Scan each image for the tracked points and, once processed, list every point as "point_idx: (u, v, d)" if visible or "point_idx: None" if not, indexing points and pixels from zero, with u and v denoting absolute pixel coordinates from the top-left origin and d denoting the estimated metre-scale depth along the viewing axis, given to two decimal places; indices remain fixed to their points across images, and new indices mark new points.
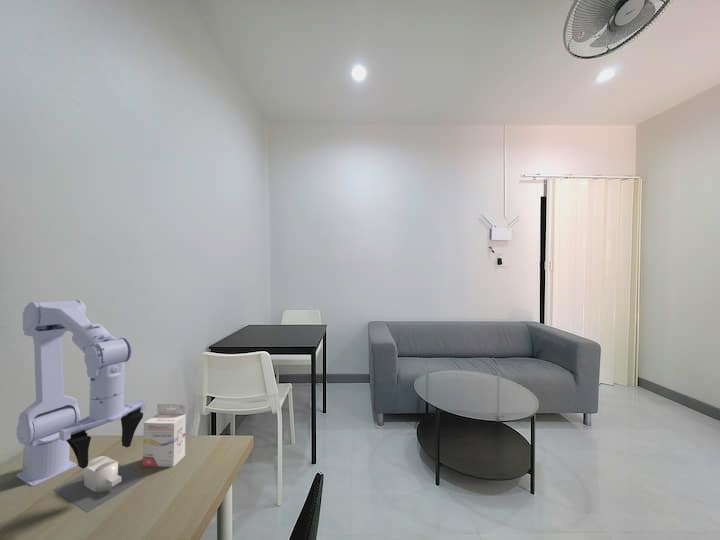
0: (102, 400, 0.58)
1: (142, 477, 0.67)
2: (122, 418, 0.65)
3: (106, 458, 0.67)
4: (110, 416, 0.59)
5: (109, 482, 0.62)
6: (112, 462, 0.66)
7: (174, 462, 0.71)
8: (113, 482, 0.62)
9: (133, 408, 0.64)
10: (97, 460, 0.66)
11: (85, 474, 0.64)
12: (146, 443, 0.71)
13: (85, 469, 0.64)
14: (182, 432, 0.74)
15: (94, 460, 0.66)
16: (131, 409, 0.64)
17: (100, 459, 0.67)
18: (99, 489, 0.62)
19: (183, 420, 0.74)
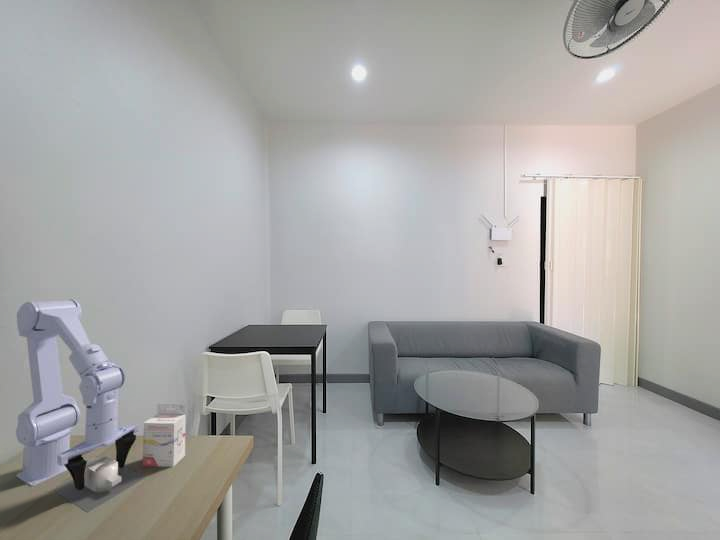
0: (97, 426, 0.63)
1: (142, 477, 0.67)
2: (116, 440, 0.69)
3: (106, 458, 0.67)
4: (104, 440, 0.64)
5: (109, 482, 0.62)
6: (112, 462, 0.66)
7: (174, 462, 0.71)
8: (113, 482, 0.62)
9: (126, 431, 0.69)
10: (97, 460, 0.66)
11: (85, 474, 0.64)
12: (146, 443, 0.71)
13: (85, 469, 0.64)
14: (182, 432, 0.74)
15: (94, 460, 0.66)
16: (124, 432, 0.68)
17: (100, 459, 0.67)
18: (99, 489, 0.62)
19: (183, 420, 0.74)
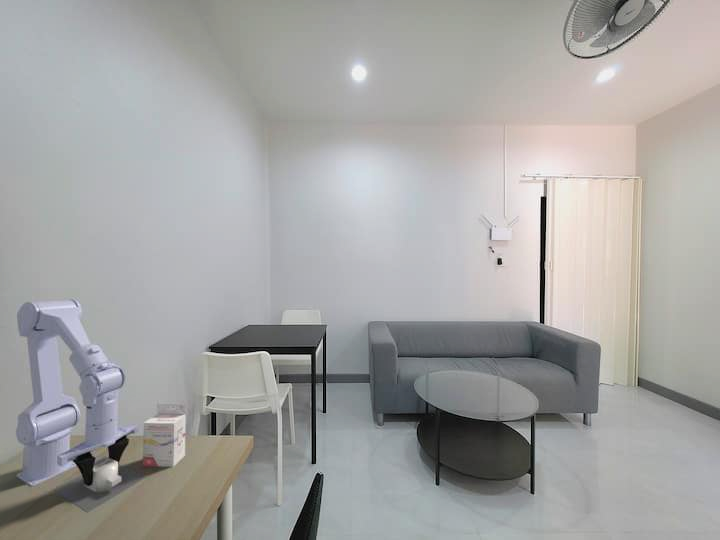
0: (97, 426, 0.63)
1: (142, 477, 0.67)
2: None
3: (106, 458, 0.67)
4: (104, 441, 0.64)
5: (109, 482, 0.62)
6: (112, 462, 0.66)
7: (174, 462, 0.71)
8: (113, 482, 0.62)
9: (126, 432, 0.69)
10: (97, 460, 0.66)
11: None
12: (146, 443, 0.71)
13: None
14: (182, 432, 0.74)
15: None
16: (124, 433, 0.68)
17: (100, 459, 0.67)
18: (99, 489, 0.62)
19: (183, 420, 0.74)
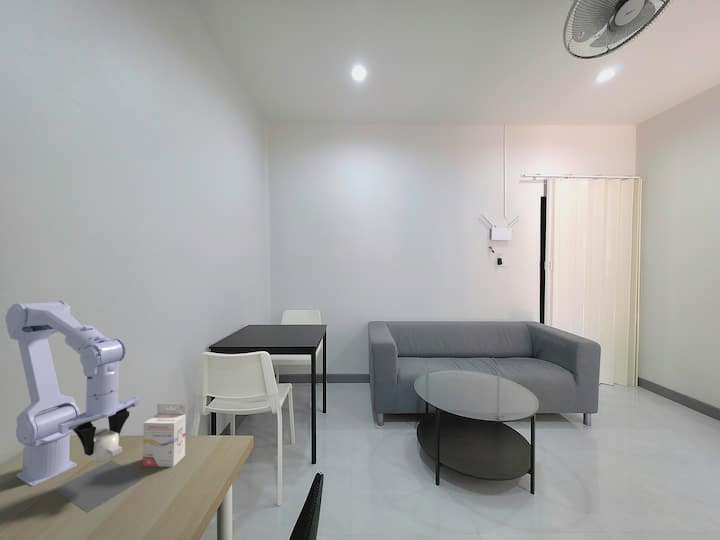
0: (98, 397, 0.63)
1: (142, 477, 0.67)
2: (109, 417, 0.68)
3: (106, 430, 0.68)
4: (105, 411, 0.64)
5: (110, 452, 0.62)
6: (113, 433, 0.66)
7: (174, 462, 0.71)
8: (114, 452, 0.62)
9: (127, 404, 0.69)
10: (98, 432, 0.67)
11: None
12: (146, 443, 0.71)
13: None
14: (182, 432, 0.74)
15: None
16: (125, 405, 0.68)
17: (101, 431, 0.67)
18: (100, 459, 0.62)
19: (183, 420, 0.74)
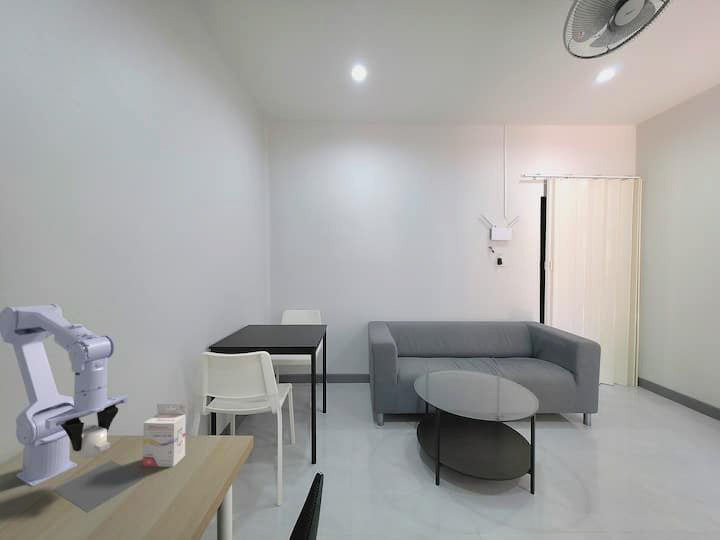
0: (85, 393, 0.64)
1: (142, 477, 0.67)
2: (98, 413, 0.68)
3: (95, 426, 0.68)
4: (93, 407, 0.64)
5: (97, 447, 0.62)
6: (101, 429, 0.66)
7: (174, 462, 0.71)
8: (101, 447, 0.62)
9: (116, 401, 0.69)
10: (86, 428, 0.67)
11: None
12: (146, 443, 0.71)
13: None
14: (182, 432, 0.74)
15: (83, 428, 0.67)
16: (114, 402, 0.69)
17: (89, 427, 0.67)
18: (88, 454, 0.63)
19: (183, 420, 0.74)
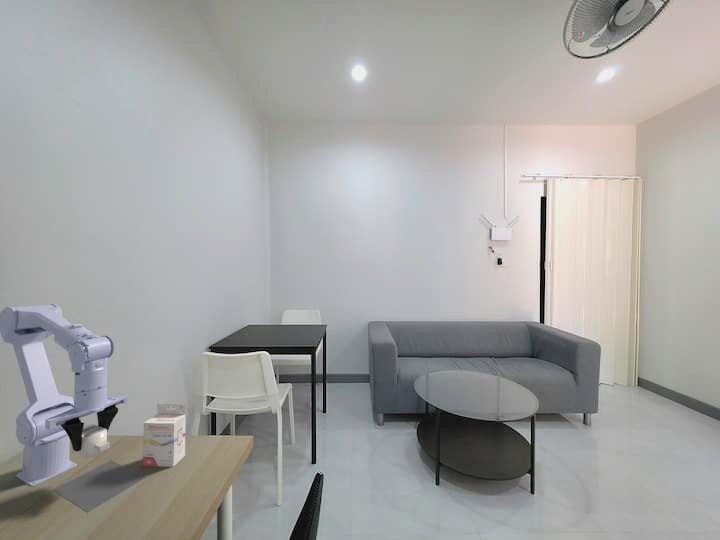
0: (85, 393, 0.64)
1: (142, 477, 0.67)
2: (98, 413, 0.68)
3: (95, 426, 0.68)
4: (93, 407, 0.64)
5: (97, 447, 0.62)
6: (101, 429, 0.66)
7: (174, 462, 0.71)
8: (101, 447, 0.62)
9: (116, 401, 0.69)
10: (86, 428, 0.67)
11: None
12: (146, 443, 0.71)
13: None
14: (182, 432, 0.74)
15: (83, 428, 0.67)
16: (114, 402, 0.69)
17: (89, 427, 0.67)
18: (88, 454, 0.63)
19: (183, 420, 0.74)
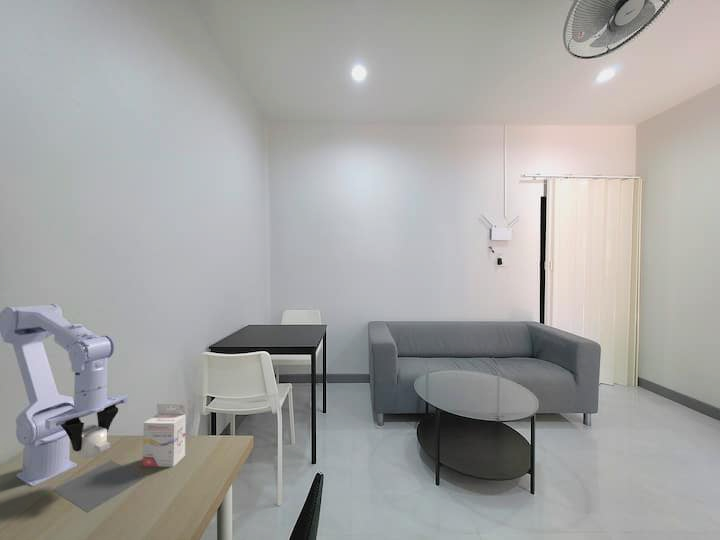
0: (85, 393, 0.64)
1: (142, 477, 0.67)
2: (98, 413, 0.68)
3: (95, 426, 0.68)
4: (93, 407, 0.64)
5: (97, 447, 0.62)
6: (101, 429, 0.66)
7: (174, 462, 0.71)
8: (101, 447, 0.62)
9: (116, 401, 0.69)
10: (86, 428, 0.67)
11: None
12: (146, 443, 0.71)
13: None
14: (182, 432, 0.74)
15: (83, 428, 0.67)
16: (114, 402, 0.69)
17: (89, 427, 0.67)
18: (88, 454, 0.63)
19: (183, 420, 0.74)
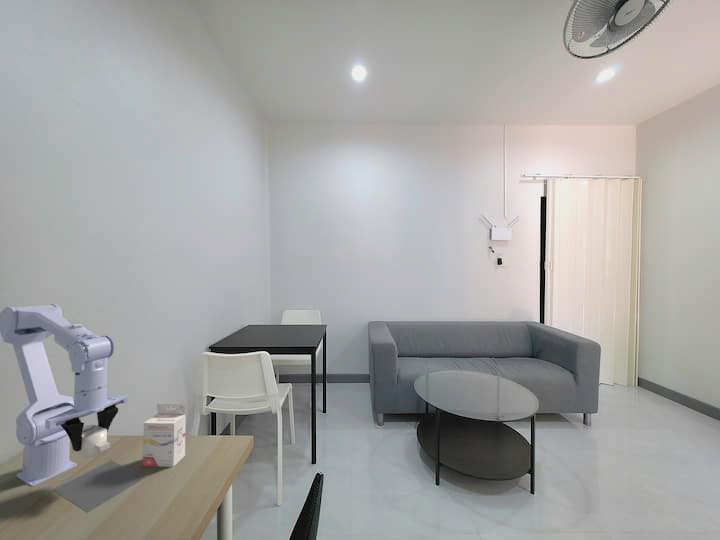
0: (85, 393, 0.64)
1: (142, 477, 0.67)
2: (98, 413, 0.68)
3: (95, 426, 0.68)
4: (93, 407, 0.64)
5: (97, 447, 0.62)
6: (101, 429, 0.66)
7: (174, 462, 0.71)
8: (101, 447, 0.62)
9: (116, 401, 0.69)
10: (86, 428, 0.67)
11: None
12: (146, 443, 0.71)
13: None
14: (182, 432, 0.74)
15: (83, 428, 0.67)
16: (114, 402, 0.69)
17: (89, 427, 0.67)
18: (88, 454, 0.63)
19: (183, 420, 0.74)
